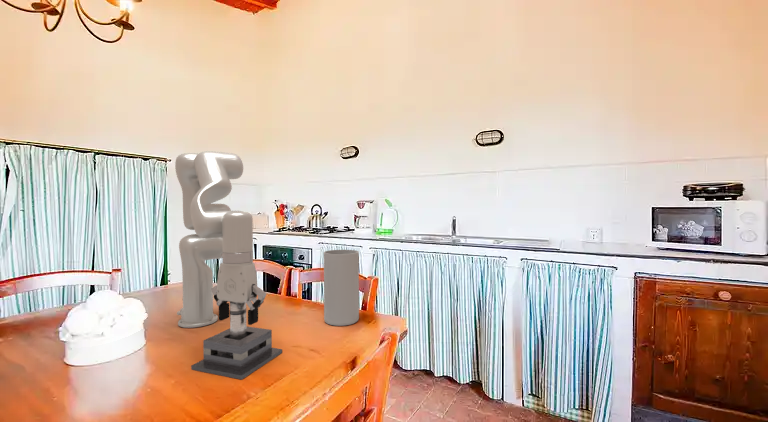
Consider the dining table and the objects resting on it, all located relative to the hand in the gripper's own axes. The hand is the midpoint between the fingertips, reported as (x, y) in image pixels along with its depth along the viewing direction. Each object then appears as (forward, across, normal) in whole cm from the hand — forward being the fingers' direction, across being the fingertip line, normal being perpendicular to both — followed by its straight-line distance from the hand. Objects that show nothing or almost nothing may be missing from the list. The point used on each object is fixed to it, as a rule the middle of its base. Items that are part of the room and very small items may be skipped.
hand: (238, 321), depth 93 cm
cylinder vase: (+11, +12, +38) cm, 41 cm away
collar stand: (+11, 0, 0) cm, 11 cm away
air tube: (+10, 0, 0) cm, 10 cm away
